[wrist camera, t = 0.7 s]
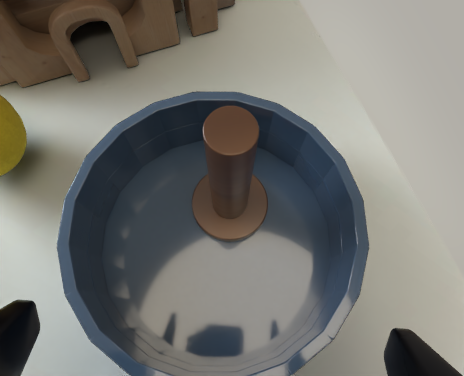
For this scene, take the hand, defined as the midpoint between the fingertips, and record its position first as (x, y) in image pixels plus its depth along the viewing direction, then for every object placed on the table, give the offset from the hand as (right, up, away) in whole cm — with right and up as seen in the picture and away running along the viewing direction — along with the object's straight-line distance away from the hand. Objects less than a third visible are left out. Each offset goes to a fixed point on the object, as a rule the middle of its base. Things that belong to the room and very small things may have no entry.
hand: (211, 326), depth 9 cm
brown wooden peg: (0, +2, +14) cm, 14 cm away
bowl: (0, 0, +14) cm, 14 cm away
